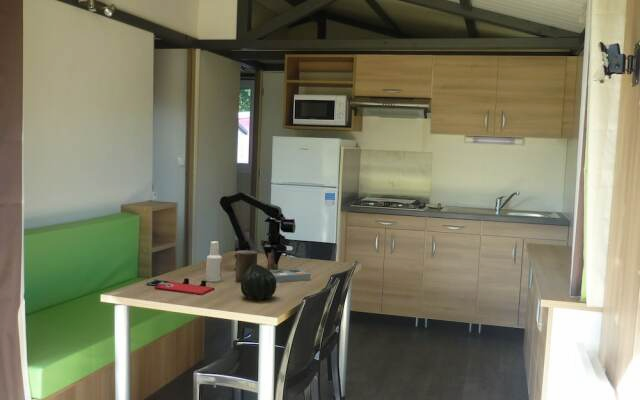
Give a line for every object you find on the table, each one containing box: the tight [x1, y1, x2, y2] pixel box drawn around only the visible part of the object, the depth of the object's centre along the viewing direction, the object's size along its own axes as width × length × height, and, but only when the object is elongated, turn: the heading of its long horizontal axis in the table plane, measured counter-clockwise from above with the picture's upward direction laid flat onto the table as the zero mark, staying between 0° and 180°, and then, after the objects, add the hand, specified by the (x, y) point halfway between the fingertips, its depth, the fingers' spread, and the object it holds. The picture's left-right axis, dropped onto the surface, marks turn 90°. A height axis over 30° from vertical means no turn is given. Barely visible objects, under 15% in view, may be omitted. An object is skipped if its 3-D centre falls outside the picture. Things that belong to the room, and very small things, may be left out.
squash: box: [240, 263, 277, 301], centre depth 245 cm, size 14×15×15 cm
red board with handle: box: [145, 277, 215, 296], centre depth 256 cm, size 30×3×15 cm
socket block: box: [270, 268, 311, 284], centre depth 284 cm, size 18×13×3 cm
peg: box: [266, 252, 279, 270], centre depth 294 cm, size 4×4×10 cm
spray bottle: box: [205, 240, 223, 283], centre depth 272 cm, size 7×7×18 cm
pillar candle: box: [235, 250, 258, 283], centre depth 274 cm, size 10×10×15 cm
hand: (272, 262), depth 294 cm, fingers open, 9 cm apart
